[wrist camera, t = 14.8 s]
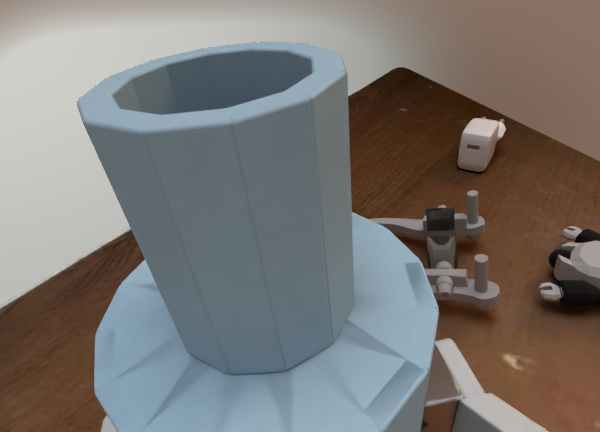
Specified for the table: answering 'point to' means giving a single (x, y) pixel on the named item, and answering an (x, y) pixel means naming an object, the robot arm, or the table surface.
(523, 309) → the table surface
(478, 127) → the power adapter
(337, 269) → the bottle
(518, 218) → the table surface
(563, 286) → the robot toy
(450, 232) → the bike brake
